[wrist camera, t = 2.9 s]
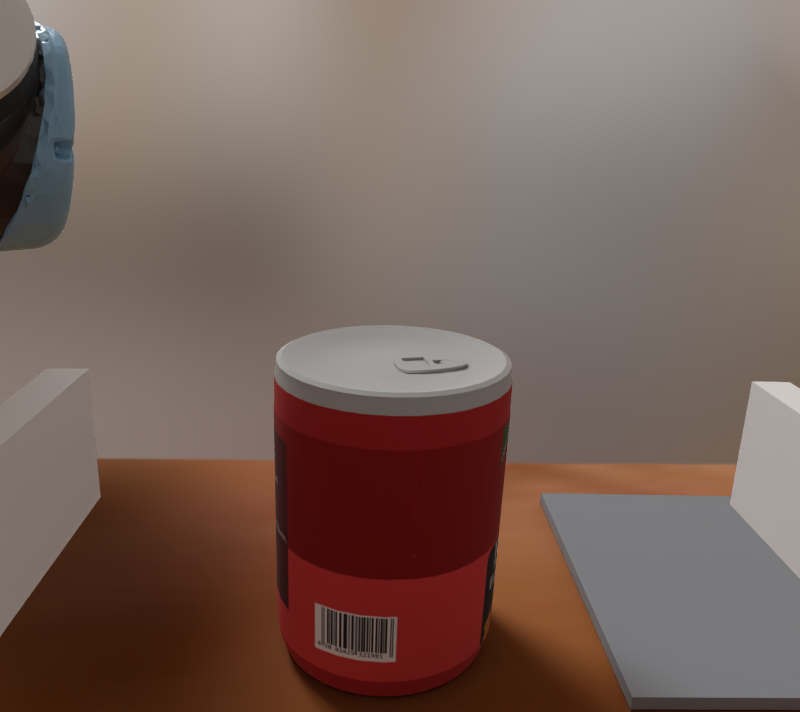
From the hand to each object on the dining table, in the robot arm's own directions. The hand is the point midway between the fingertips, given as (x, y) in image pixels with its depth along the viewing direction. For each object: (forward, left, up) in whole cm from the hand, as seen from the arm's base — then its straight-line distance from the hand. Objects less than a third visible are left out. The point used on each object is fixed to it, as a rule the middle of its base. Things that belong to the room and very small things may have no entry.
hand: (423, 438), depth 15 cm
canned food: (-9, +5, -13) cm, 16 cm away
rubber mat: (-3, +20, -13) cm, 24 cm away
